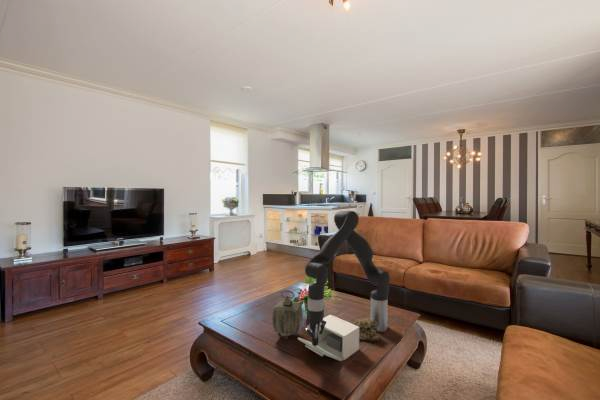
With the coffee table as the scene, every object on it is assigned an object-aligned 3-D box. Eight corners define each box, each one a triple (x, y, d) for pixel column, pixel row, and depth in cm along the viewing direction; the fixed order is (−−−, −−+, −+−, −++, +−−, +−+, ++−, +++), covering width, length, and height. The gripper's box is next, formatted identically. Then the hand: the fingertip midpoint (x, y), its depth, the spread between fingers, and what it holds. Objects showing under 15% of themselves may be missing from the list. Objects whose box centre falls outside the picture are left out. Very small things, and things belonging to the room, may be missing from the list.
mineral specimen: (350, 343, 139) (350, 324, 139) (349, 330, 152) (349, 313, 152) (380, 345, 138) (380, 326, 137) (375, 332, 150) (376, 314, 150)
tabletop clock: (302, 335, 147) (302, 289, 146) (298, 344, 138) (298, 295, 137) (276, 331, 151) (276, 286, 149) (271, 340, 142) (271, 292, 141)
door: (314, 343, 137) (298, 337, 128) (342, 359, 124) (326, 353, 116) (312, 348, 136) (296, 342, 128) (340, 364, 123) (324, 358, 115)
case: (330, 336, 146) (330, 314, 145) (359, 351, 133) (359, 326, 132) (314, 345, 137) (314, 322, 137) (344, 362, 124) (344, 336, 124)
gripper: (319, 300, 131) (318, 336, 131) (299, 308, 121) (298, 347, 122) (331, 305, 125) (330, 342, 126) (311, 314, 116) (310, 354, 117)
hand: (314, 344), depth 124 cm, fingers closed
